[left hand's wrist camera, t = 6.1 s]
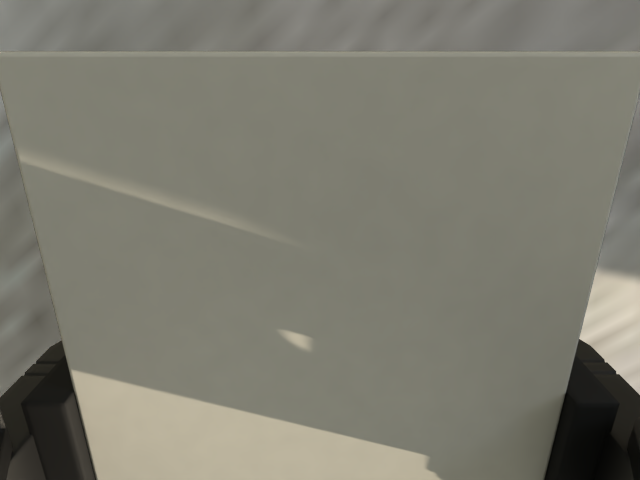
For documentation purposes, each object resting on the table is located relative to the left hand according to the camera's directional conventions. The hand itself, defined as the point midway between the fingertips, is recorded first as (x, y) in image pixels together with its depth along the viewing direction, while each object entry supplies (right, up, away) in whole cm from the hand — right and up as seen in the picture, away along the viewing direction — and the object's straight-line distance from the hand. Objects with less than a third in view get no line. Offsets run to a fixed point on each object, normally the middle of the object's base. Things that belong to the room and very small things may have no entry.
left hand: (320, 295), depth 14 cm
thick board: (0, -28, +11) cm, 30 cm away
